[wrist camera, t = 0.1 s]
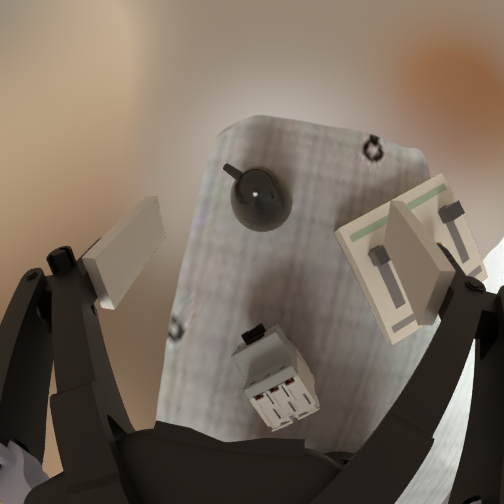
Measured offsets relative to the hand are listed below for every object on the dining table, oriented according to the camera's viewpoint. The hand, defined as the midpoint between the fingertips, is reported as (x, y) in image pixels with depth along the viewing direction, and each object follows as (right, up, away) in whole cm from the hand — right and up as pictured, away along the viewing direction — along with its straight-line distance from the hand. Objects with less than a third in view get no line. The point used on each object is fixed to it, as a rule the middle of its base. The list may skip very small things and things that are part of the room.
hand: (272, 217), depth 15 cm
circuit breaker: (+3, -20, +35) cm, 40 cm away
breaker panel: (+29, -3, +32) cm, 43 cm away
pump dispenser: (+1, +6, +37) cm, 37 cm away
